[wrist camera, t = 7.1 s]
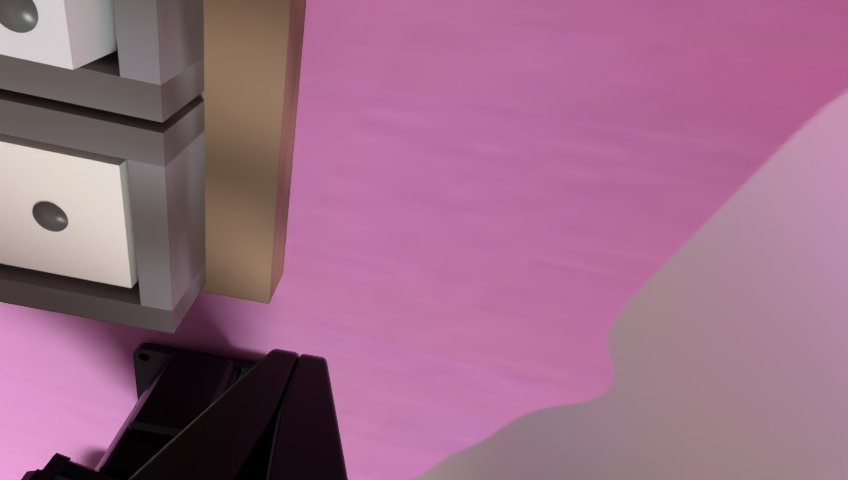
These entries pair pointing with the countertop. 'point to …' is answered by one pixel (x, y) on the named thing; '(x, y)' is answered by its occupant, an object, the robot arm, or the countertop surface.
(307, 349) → the countertop surface
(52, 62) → the tile three
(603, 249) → the countertop surface
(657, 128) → the countertop surface
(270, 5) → the panel
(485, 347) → the countertop surface
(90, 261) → the tile one
